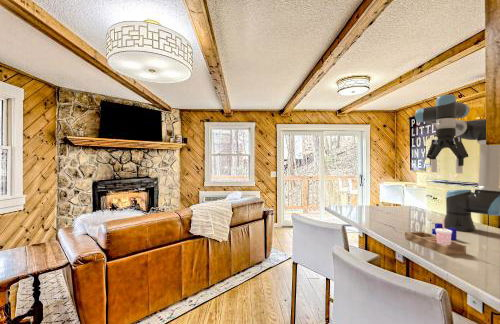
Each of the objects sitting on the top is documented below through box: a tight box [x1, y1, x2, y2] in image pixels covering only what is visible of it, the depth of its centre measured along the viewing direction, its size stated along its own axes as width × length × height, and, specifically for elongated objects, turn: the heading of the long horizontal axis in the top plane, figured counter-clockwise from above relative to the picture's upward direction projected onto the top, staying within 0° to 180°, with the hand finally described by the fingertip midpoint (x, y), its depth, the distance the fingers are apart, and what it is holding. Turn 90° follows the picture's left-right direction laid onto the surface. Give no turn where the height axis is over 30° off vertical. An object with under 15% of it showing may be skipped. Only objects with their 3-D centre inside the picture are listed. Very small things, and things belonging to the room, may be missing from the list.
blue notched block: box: [431, 222, 458, 241], centre depth 139 cm, size 12×4×6 cm, turn 177°
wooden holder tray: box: [404, 231, 467, 256], centre depth 124 cm, size 24×10×4 cm, turn 8°
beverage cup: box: [434, 218, 452, 245], centre depth 118 cm, size 6×6×14 cm
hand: (445, 172), depth 124 cm, fingers open, 13 cm apart
